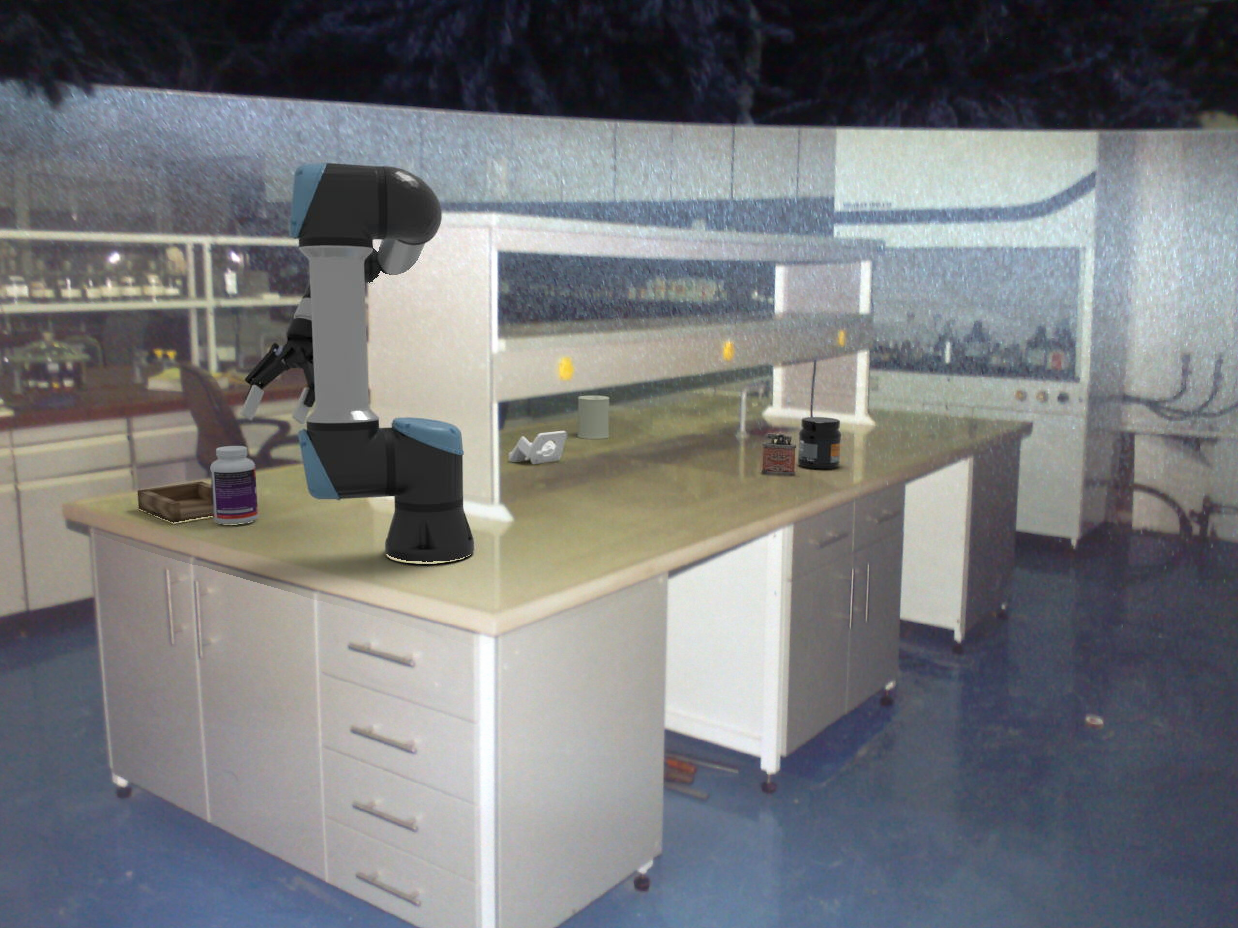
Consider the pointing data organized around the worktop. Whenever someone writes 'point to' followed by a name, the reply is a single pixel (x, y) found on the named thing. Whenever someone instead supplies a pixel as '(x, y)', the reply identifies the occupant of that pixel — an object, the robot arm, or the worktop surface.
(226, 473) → the pill bottle
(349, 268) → the robot arm
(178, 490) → the slot tray
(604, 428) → the can
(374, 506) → the worktop surface
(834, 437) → the supplement container
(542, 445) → the mounting bracket
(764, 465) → the lighter
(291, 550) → the worktop surface
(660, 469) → the worktop surface
